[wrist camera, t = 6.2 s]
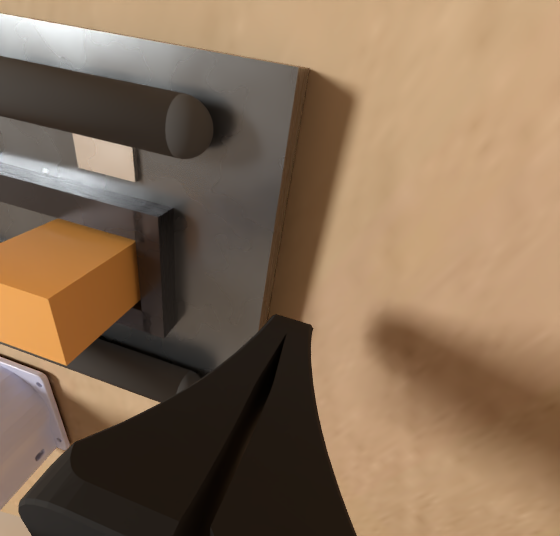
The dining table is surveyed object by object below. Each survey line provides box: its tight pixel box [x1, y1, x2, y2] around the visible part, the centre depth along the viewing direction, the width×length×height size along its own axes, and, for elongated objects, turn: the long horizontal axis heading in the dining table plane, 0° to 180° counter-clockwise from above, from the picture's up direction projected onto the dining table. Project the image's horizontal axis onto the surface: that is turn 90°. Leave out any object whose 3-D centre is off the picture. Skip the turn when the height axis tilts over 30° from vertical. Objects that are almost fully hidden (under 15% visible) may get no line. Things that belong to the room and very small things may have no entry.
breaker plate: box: [0, 13, 310, 378], centre depth 15 cm, size 16×24×2 cm, turn 82°
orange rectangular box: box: [0, 218, 141, 366], centre depth 12 cm, size 3×4×4 cm
